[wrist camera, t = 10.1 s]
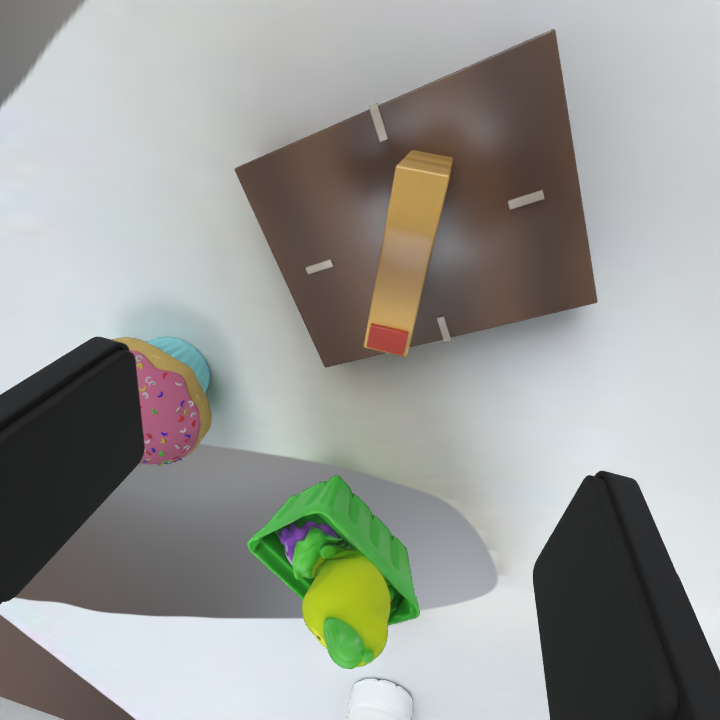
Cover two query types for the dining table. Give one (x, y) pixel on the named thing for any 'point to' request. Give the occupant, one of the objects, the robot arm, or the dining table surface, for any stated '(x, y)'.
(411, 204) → the tap handle
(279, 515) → the fruit basket
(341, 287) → the plate
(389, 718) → the water bottle
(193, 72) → the dining table surface
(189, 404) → the cupcake
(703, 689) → the robot arm
